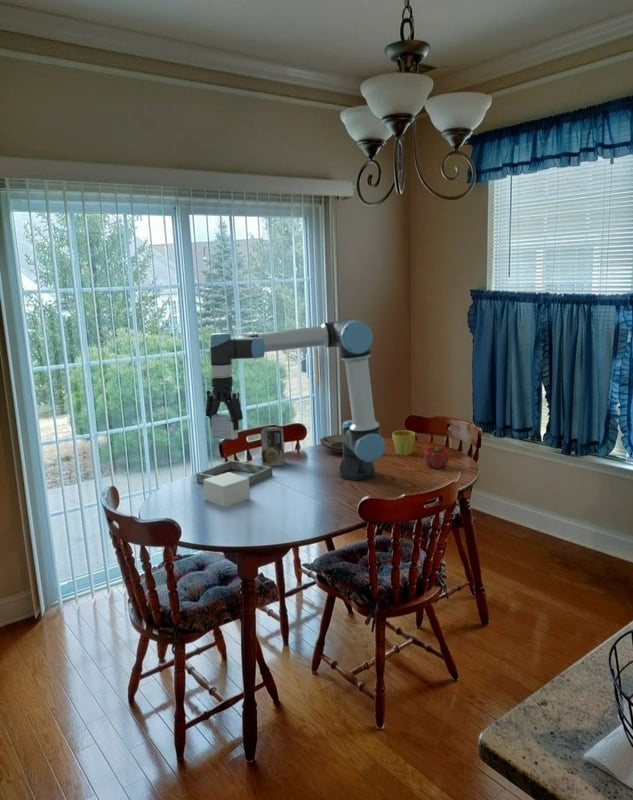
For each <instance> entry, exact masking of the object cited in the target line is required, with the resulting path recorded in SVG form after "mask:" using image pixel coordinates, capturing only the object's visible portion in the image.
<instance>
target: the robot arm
mask: <svg viewBox="0 0 633 800" xmlns="http://www.w3.org/2000/svg"><path fill="white" fill-rule="evenodd" d="M373 337H374V336H373V333H372V330H371V328H370V327H369V326H368V325H367V324H366V323H365V322H363V321H361V320H358V319H351V318H344V319H339V320H336V321H335V320H334V321H330V322H329V321H328V322H324V323H322V324H321V325H320V326H311V327H310V326H309V327H301V328H293V329H283V330H276V331H274V330H273V331H267V332H260V333H249V334H247V333H241V334H238V336H236V338H235V337H232V336H231V334H230V333H229V332H215V333H211V334H210V335H209V346H208V347H209V359H210V376H211V387H212V389H209V390H207V391H206V406H205V417H208V418H209V423H210V424H209V425H210V427H211V437H213V428H212V416H213V415H215V414H217V413H218V411H219V408H220V405H221V403H224V405H225V406H226V409H227V411H228V414H230V416H231V419H232V421H231V439H230V440H231V441H234V440H236V439H238V438H239V435H238V434H239V432H238V430H239V429H240V426H239V421H241V420H243V419H244V415H243V412H242V406H241V401H240V392H234V391H233V389H232V387H233V383H234V382H233V376H232V375H233V365H232V364H233V362H232V360H238V359H239V360H242V359H243V360H244V359H249V360H250V359H254V360H256V359H261V358H264V357H265V354H266V353H270V352H278V351H286V350H296V349H303V348H305V349H306V348H311V347H312V348H313V347H321V346H322V347H324V348H338V349H339V356H340V360H342V361H343V362H344V364H345V365H344V366H345V373H346V382H347V389H348V396H349V403H350V404H349V406H350V411H351V418H352V419H349V420H345V421H343V422H342V425H341V426H342V427H341V432H342V433H341V435H342V437H343V453H342V459H341V462H340V464H339V468H338V475H339V477H340V478H341V479H345V480H351V481H364V480H368V479H373V478H374V477H375V476H376V474H377V473H376V472H377V471H376V470H377V469H376V467H375V462H376V461H377V460H379V459H380V458H381V457H383V454H384V453H385V450H386V443H385V440H384V438H383V437H382V436H381V435H382V433H381V426H380V423H379V422H378V421H376V417H375V409H374V403H373V401H374V400H373V394H372V393H373V392H372V386H371V377H370V376H371V375H370V367H369V358H370V357H371V355H372V350H371V347H372V346H371V345H372V344H373V340H374V339H373Z"/></svg>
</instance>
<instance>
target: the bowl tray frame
mask: <svg viewBox="0 0 633 800" xmlns="http://www.w3.org/2000/svg"><path fill="white" fill-rule="evenodd" d="M227 470H228V471H229V470H235V471H236V470H237V471H241V472H246V473H247V472H248V473H252V474H251V475H248V476H245V477H246V478H249V487H251V486H253V485H255V484H257V483H259V482H261V481H263V480H265V479H267V478H268V479H269V478H270V477H272V476H273V467H272V466H263V464H255V463H250V462H246V461H245V462H244V461H239V460H233V459H230V460H227V461H226V462H222V463H220V464H217V465H215V466H213V467H209V468H208V469H204V470H202V471H200V472H196V482H197V483H201V484H203V480H204V479H207V478H211V477H214V476H217V475H221V474H224V473H226V472H228V471H227Z"/></svg>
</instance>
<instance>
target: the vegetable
mask: <svg viewBox="0 0 633 800" xmlns="http://www.w3.org/2000/svg"><path fill="white" fill-rule="evenodd" d="M423 457H424V462H425V464H426V466H427V467H428V468H433V469H435V468H438V469H440V468H445V467H446V466H447V465H448V462H449V459H450V453H449V450H448V449H447V447H445V446H440V445H435V444H433V445H431V446H429V447H426V448H425V449H424V451H423ZM444 466H445V467H444Z"/></svg>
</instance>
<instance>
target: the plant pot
mask: <svg viewBox="0 0 633 800" xmlns="http://www.w3.org/2000/svg"><path fill="white" fill-rule="evenodd" d="M391 434H392V435H391V437H392V441H393V443H394V448H395V452H396V455H398V454H400V455H399V456H403V455H404V456H408V455H407V454H410V455H411V454H412V452H413V451H412V450H413V448H414V447H413V446H414V442H416V432H414V431H412V430H404V429H403V430H396V431H393V432H392V433H391Z"/></svg>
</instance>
